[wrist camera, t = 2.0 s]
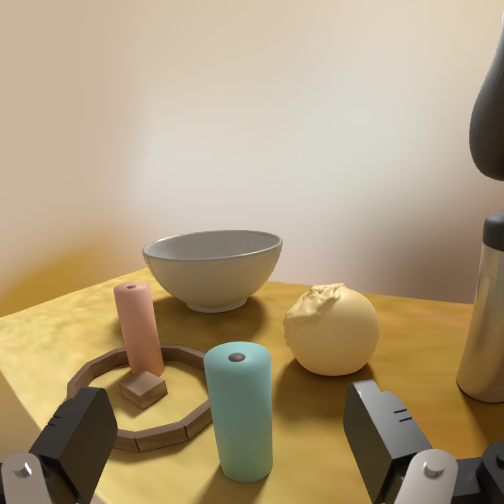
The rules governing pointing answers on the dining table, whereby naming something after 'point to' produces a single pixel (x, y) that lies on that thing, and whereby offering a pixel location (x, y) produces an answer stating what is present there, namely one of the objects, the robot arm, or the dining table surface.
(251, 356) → the teal cylinder
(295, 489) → the dining table surface
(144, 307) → the pink cylinder
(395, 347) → the dining table surface
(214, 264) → the decorative bowl
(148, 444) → the brown ring
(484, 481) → the robot arm
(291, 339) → the sculpture
